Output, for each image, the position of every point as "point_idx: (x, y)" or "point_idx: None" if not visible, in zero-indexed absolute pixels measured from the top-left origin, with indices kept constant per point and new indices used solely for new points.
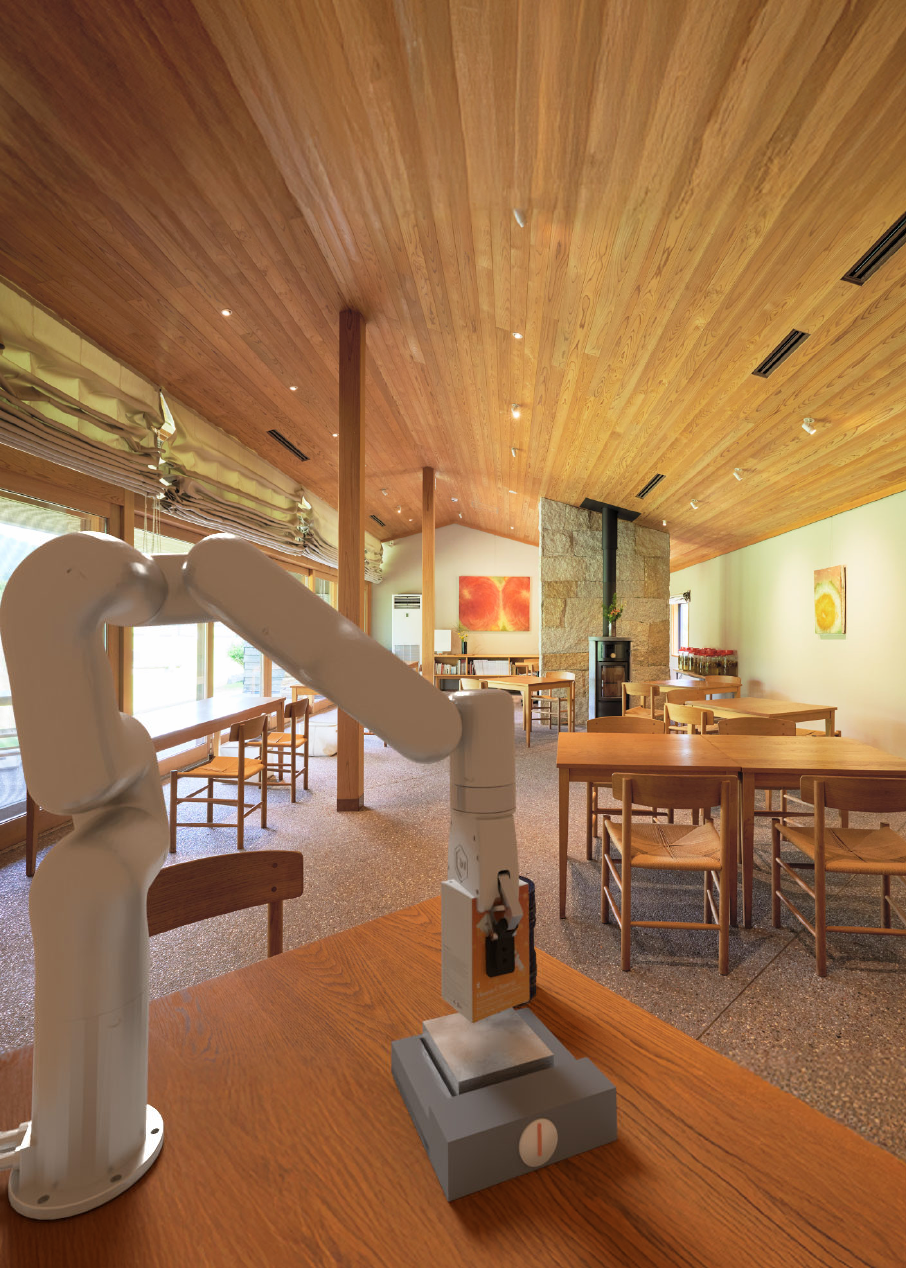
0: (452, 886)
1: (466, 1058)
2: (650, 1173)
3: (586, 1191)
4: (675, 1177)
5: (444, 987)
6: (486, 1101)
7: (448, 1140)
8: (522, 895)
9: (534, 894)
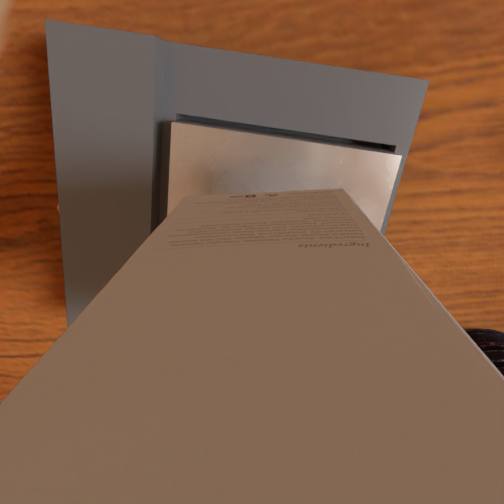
0: None
1: (230, 176)
2: (47, 302)
3: (48, 223)
4: (33, 320)
5: (329, 196)
6: (116, 149)
7: (48, 22)
8: None
9: None
